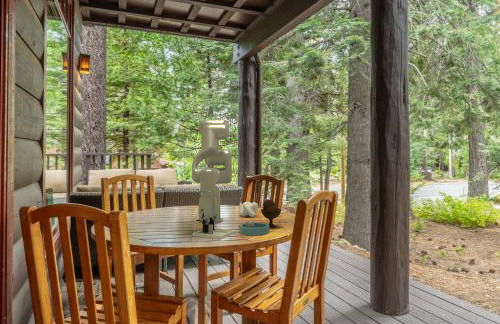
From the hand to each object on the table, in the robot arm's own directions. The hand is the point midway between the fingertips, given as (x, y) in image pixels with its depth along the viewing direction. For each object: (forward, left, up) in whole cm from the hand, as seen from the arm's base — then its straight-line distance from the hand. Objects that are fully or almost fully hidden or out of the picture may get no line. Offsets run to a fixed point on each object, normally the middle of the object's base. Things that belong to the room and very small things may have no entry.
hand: (208, 231), depth 175 cm
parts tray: (+4, 0, -2) cm, 4 cm away
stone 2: (+16, +13, -1) cm, 21 cm away
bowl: (+19, +13, -2) cm, 23 cm away
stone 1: (0, 0, -1) cm, 1 cm away
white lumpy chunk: (-6, +56, -2) cm, 56 cm away
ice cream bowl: (+20, +31, -2) cm, 37 cm away
